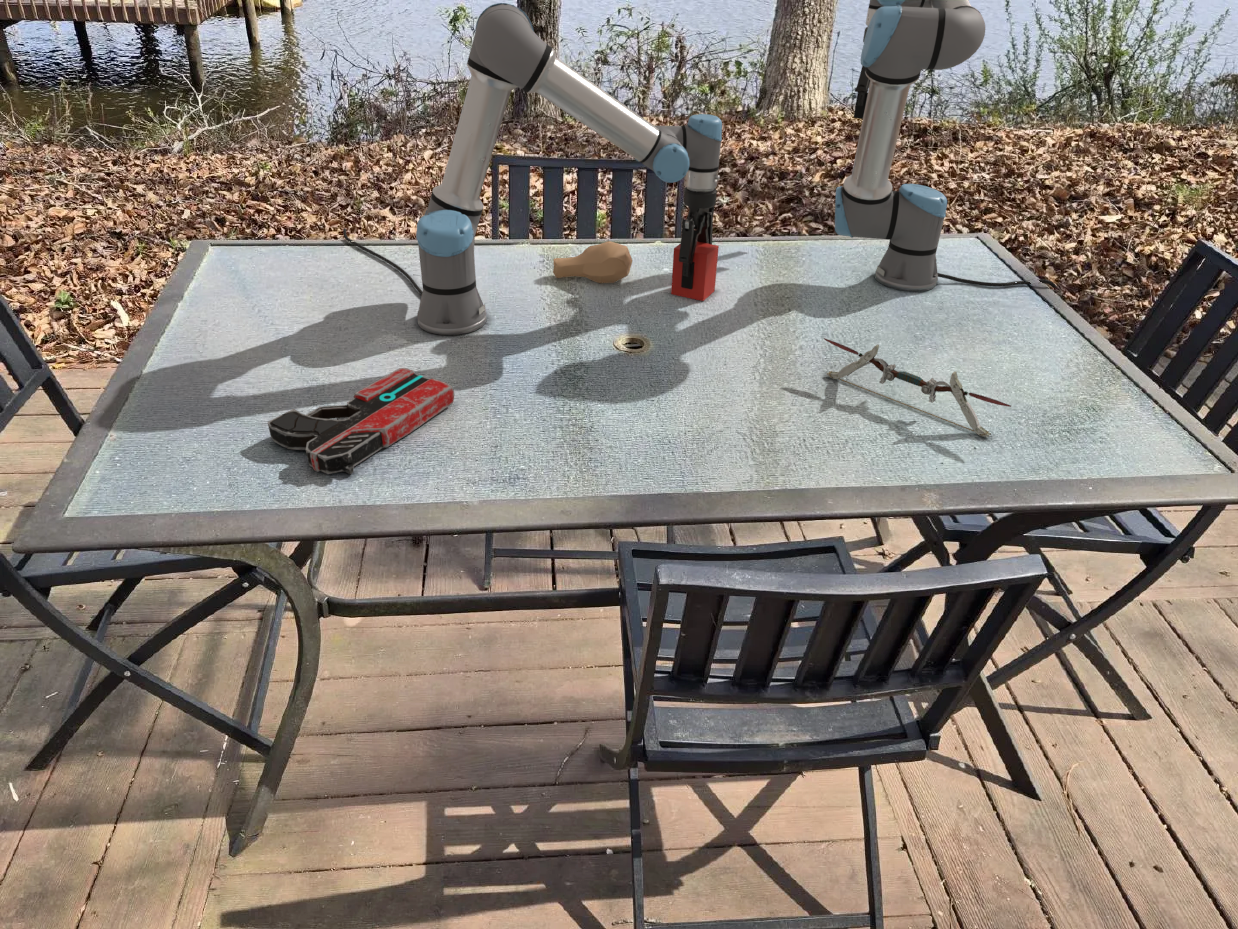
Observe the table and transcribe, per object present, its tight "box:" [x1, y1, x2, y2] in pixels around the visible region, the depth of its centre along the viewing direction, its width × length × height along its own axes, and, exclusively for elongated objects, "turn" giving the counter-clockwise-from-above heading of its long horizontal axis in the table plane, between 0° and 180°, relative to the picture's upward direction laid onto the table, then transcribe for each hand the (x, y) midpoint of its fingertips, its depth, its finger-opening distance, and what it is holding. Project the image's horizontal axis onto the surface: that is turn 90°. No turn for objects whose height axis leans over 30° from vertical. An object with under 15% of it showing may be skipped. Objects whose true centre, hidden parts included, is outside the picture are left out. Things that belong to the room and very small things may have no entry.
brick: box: [670, 242, 720, 302], centre depth 211 cm, size 7×8×12 cm
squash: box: [552, 240, 633, 284], centre depth 218 cm, size 11×20×9 cm, turn 90°
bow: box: [822, 337, 1012, 438], centre depth 167 cm, size 39×2×10 cm, turn 47°
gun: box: [266, 367, 456, 475], centre depth 158 cm, size 4×31×19 cm
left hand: (693, 282), depth 213 cm, fingers closed on brick, 7 cm apart
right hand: (865, 113), depth 239 cm, fingers open, 13 cm apart
